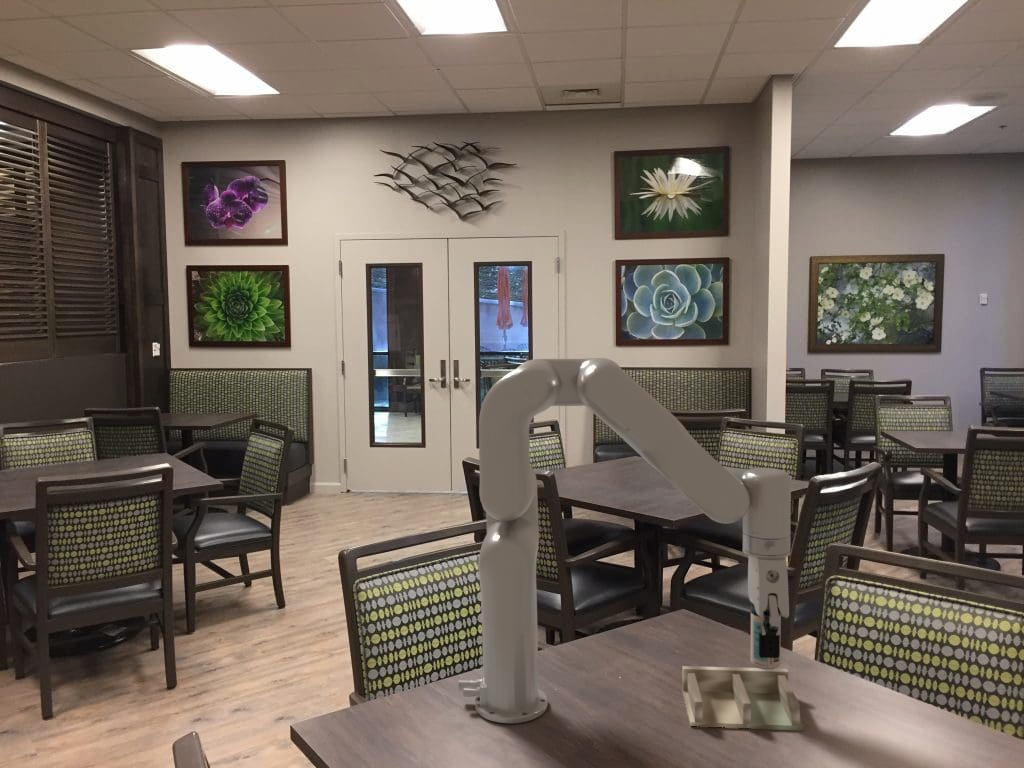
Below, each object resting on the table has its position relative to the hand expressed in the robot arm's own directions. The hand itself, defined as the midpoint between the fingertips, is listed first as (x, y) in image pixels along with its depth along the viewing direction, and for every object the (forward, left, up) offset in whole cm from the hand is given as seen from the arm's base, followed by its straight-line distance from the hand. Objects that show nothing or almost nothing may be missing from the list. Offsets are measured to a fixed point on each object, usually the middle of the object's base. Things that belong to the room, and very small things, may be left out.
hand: (765, 648), depth 135 cm
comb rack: (-4, 0, -11) cm, 12 cm away
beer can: (0, 0, -3) cm, 3 cm away
